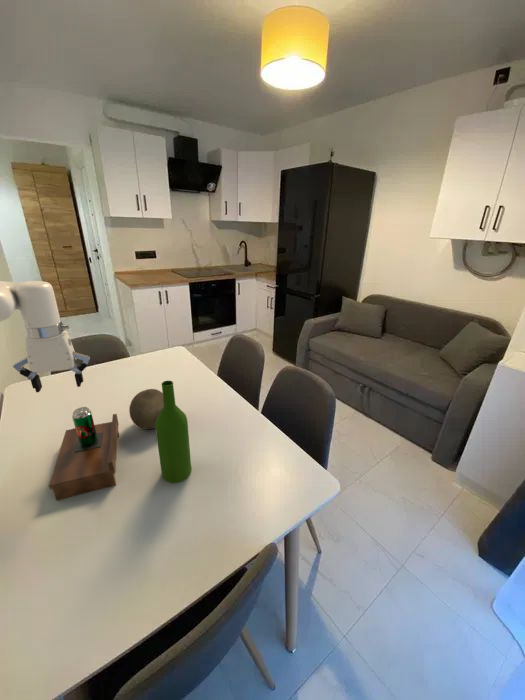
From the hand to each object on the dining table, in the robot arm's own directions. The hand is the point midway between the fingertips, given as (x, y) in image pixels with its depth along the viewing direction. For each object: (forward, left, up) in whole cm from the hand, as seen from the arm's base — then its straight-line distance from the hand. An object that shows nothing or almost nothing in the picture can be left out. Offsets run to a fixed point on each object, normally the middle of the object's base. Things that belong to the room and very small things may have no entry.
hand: (59, 387), depth 82 cm
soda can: (+3, +2, -22) cm, 23 cm away
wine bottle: (+28, -14, -29) cm, 43 cm away
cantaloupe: (+22, +12, -29) cm, 38 cm away
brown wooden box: (+3, -1, -28) cm, 28 cm away
